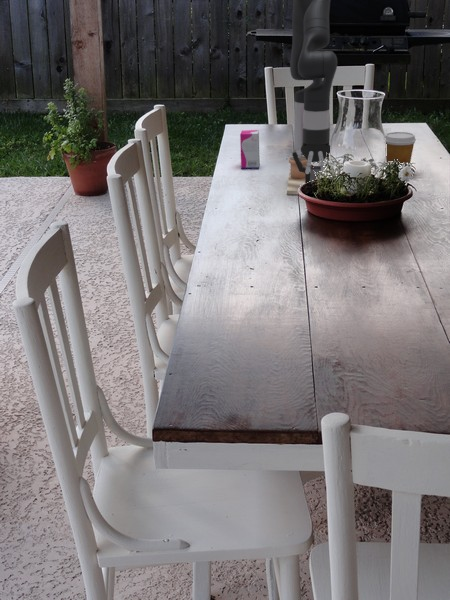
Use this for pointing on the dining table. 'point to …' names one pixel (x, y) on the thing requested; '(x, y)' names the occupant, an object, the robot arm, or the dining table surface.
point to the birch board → (300, 180)
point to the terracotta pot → (294, 169)
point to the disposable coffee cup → (399, 146)
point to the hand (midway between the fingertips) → (315, 185)
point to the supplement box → (249, 149)
